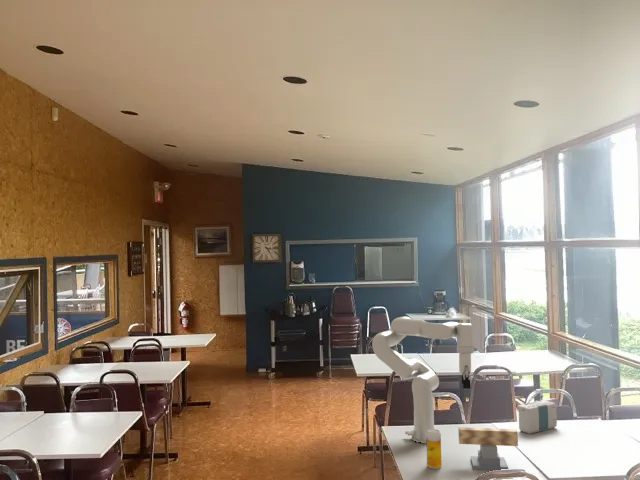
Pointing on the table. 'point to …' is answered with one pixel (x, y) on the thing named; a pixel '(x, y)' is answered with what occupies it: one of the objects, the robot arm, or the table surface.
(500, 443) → the tan long bar
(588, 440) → the table surface
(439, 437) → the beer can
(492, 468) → the fulcrum stand
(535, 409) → the stereo radio cassette player
